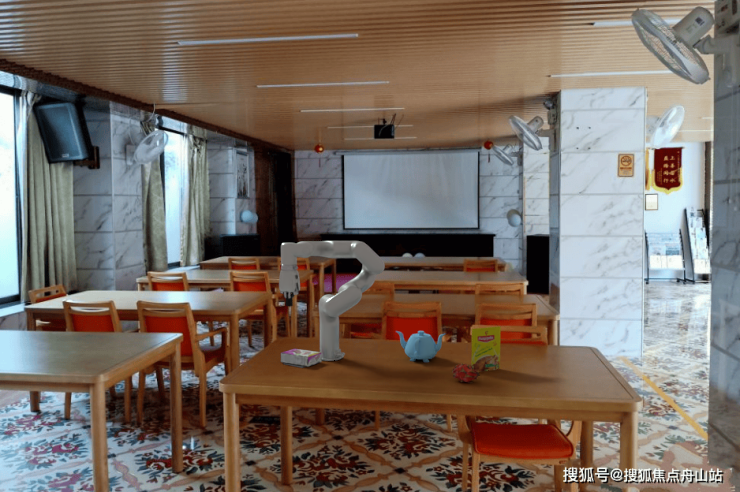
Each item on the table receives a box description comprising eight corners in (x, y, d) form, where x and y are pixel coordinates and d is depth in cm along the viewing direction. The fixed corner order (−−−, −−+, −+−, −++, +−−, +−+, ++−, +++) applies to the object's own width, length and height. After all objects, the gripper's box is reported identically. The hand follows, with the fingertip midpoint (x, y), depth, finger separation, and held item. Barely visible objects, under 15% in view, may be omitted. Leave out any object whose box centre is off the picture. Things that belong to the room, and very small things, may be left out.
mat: (314, 363, 283) (314, 363, 283) (302, 367, 276) (302, 367, 276) (295, 360, 290) (295, 359, 290) (283, 364, 283) (283, 363, 283)
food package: (471, 372, 268) (472, 329, 267) (470, 372, 269) (471, 328, 268) (500, 369, 274) (501, 326, 272) (499, 368, 275) (499, 326, 273)
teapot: (445, 361, 288) (445, 333, 287) (409, 365, 281) (409, 336, 280) (430, 354, 303) (430, 326, 302) (395, 357, 296) (395, 329, 295)
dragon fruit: (450, 383, 257) (477, 390, 253) (448, 376, 250) (476, 383, 246) (454, 365, 261) (481, 371, 257) (453, 357, 254) (481, 364, 250)
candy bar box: (294, 347, 293) (321, 352, 285) (294, 357, 294) (321, 362, 285) (280, 352, 284) (308, 356, 275) (280, 362, 284) (308, 367, 276)
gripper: (305, 268, 284) (306, 306, 285) (282, 266, 292) (283, 303, 294) (295, 269, 278) (295, 308, 279) (272, 267, 286) (272, 305, 287)
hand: (289, 305), depth 286 cm, fingers closed
